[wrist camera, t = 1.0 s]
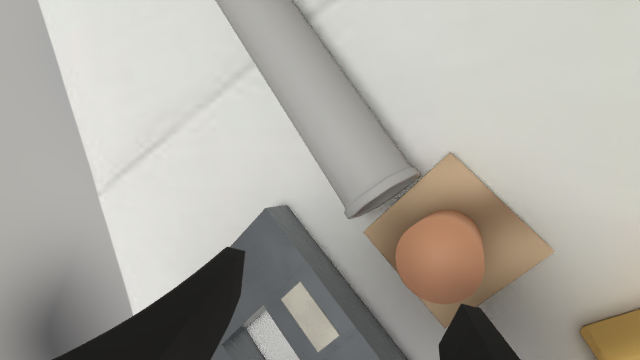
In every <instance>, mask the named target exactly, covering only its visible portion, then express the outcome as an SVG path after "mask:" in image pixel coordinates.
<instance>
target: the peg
mask: <svg viewBox="0 0 640 360" xmlns="http://www.w3.org/2000/svg"><path fill="white" fill-rule="evenodd" d="M395 259H396V267H397V270H398V273H399V275H400V277H401V279H402V281H403V282H404V284H405V285H406V286H407V287H408V288H409V289H410V290H411V291H412V292H413V293H414V294H415V295H417V296H418V297H420V298H422V299H424V300H426V301H429V302H432V303H436V304H453V303H457V302H460V301H463V300H465V299H466V298H468V297H470V296H471V295H472V294H473V293H474V292H475V291H476V290H477V289H478V287H479V286H480V284H481V282H482V279H483V276H484V270H485V263H484V251H483V240H482V235H481V232H480V230H479V228H478V226H477V225H476V224H475V222H474V221H473V220H472V219H471V218H469V217H468V216H467V215H465V214H463V213H461V212H458V211H455V210H438V211H435V212H433V213H431V214H429V215H427V216H426V217H425V218H423V219H422V220H420V221H419V222H417V223H416V224H414V225H413V226H412V227H410V228H409V229H408V230H407V231H406V232H405V233H404V234H403V235H402V237H401V238H400V240H399V242H398V245H397V248H396V255H395Z"/></svg>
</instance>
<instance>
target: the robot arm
mask: <svg viewBox="0 0 640 360" xmlns="http://www.w3.org/2000/svg"><path fill="white" fill-rule="evenodd" d="M244 260H245V251H243V250H239V249H235V248H231V247H226V248H225V249H223V250H222V251H221V252H220V253H219V254H217V255H216V256H215V257H214V258H213V259H211V260H210V261H209V262H208V263H207V264H205V265H204V266H203V267H202V268H200V269H199V270H198V271H197V272H195V273H194V274H193V275H191V276H190V277H189V278H188V279H186V280H185V281H184V282H182V283H181V284H180V285H178V286H177V287H176V288H174V289H173V290H171V291H170V292H169V293H167V294H166V295H164V296H163V297H161V298H160V299H158V300H157V301H155V302H154V303H153V304H151V305H150V306H148V307H147V308H145V309H143V310H142V311H140V312H139V313H137V314H136V315H134V316H132V317H131V318H129V319H128V320H126V321H124V322H122V323H121V324H119V325H117V326H116V327H114V328H112V329H110V330H109V331H107V332H105V333H103V334H101V335H99V336H98V337H96V338H94V339H92V340H91V341H88V342H87V343H85V344H83V345H81V346H79V347H77V348H75V349H73V350H71V351H69V352H67V353H65V354H63V355H61V356H59V357H57V358H55V359H52V360H211V358H212V356H213V354H214V352H215V351H216V349H217V347H218V345H219V343H220V341H221V339H222V337H223V335H224V334H225V332H226V330H227V328H228V326H229V324H230V321H231V319H232V316H233V314H234V311H235V309H236V306H237V304H238V301H239V299H240V296H241V288H242V279H243V269H244ZM439 354H440V360H520V359H519V357H518V356H517V355H516V353H515V352H514V351H513V350H512V348H511V347H510V346H509V344H508V343H507V342H506V341H505V339H504V338H503V337H502V335H501V334H500V333H499V331H498V330H497V329H496V328H495V326H494V325H493V324H492V322H491V321H490V320H489V319H488V317H487V316H486V315H485V314H484V312H483V311H482V310H481V309H480V308H477V307H473V306H469V305H465V304H461V305H460V306H459V308H458V310H457V312H456V314H455V316H454V318H453V319H452V321H451V323H450V325H449V327H448V329H447V331H446V332H445V334H444V336H443V338H442V340H441V342H440V344H439Z"/></svg>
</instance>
